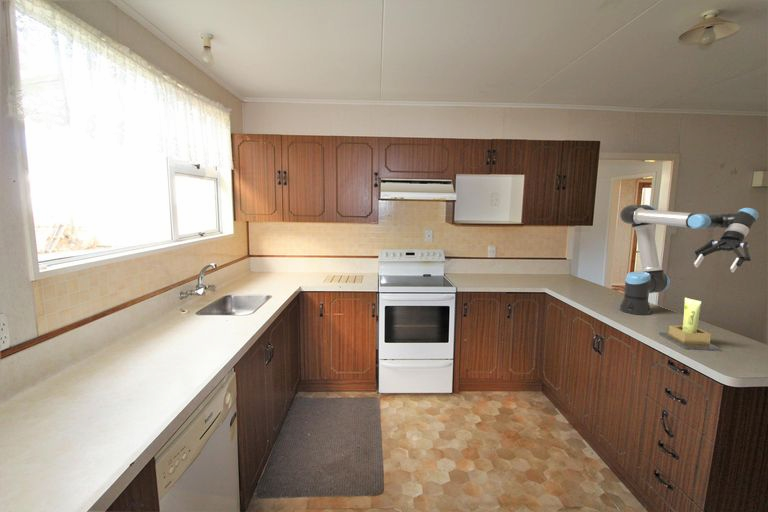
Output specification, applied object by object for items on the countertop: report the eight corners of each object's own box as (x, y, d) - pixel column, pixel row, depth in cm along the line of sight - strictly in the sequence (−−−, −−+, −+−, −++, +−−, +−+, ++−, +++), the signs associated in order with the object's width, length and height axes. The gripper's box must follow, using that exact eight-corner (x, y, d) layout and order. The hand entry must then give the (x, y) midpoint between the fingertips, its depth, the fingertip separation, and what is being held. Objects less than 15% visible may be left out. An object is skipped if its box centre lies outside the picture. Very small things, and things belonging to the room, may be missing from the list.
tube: (679, 339, 161) (684, 299, 158) (679, 336, 165) (684, 297, 162) (696, 343, 157) (701, 301, 154) (695, 339, 161) (701, 299, 158)
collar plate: (658, 334, 171) (660, 322, 170) (690, 335, 169) (691, 323, 168) (685, 349, 153) (687, 336, 152) (720, 350, 151) (722, 337, 151)
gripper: (772, 242, 157) (751, 278, 153) (705, 238, 180) (684, 268, 176) (768, 231, 154) (746, 267, 151) (700, 228, 177) (679, 259, 173)
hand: (713, 268), depth 163 cm, fingers open, 13 cm apart
